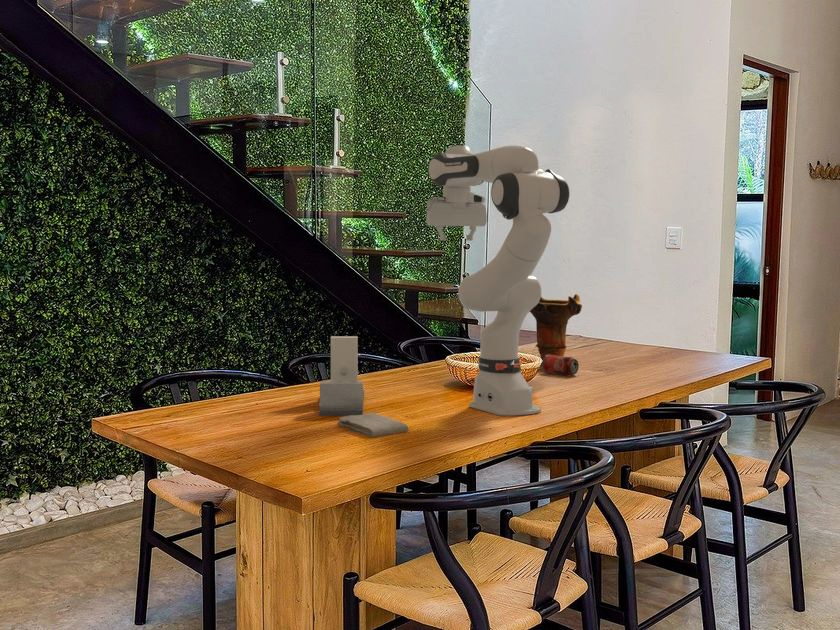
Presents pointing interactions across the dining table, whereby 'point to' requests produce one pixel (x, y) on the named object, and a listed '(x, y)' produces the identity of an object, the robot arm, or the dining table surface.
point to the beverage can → (560, 365)
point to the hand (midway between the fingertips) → (456, 240)
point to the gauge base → (341, 398)
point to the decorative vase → (554, 323)
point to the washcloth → (372, 424)
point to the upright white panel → (344, 358)
